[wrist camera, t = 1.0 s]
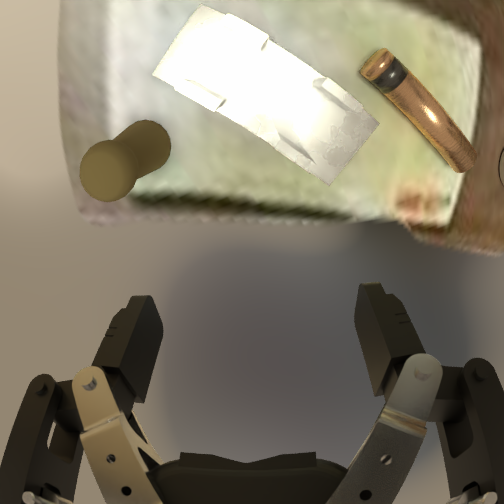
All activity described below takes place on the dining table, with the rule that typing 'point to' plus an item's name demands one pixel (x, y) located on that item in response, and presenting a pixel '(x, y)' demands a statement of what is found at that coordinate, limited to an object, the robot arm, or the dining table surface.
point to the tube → (420, 108)
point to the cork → (124, 160)
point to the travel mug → (502, 168)
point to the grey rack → (266, 91)
